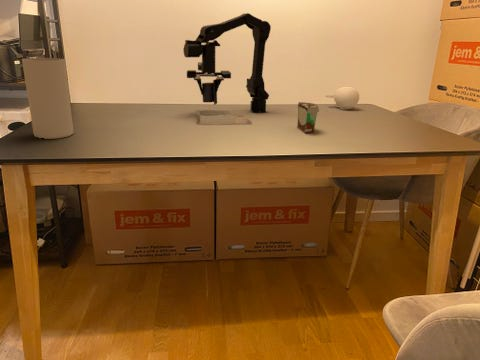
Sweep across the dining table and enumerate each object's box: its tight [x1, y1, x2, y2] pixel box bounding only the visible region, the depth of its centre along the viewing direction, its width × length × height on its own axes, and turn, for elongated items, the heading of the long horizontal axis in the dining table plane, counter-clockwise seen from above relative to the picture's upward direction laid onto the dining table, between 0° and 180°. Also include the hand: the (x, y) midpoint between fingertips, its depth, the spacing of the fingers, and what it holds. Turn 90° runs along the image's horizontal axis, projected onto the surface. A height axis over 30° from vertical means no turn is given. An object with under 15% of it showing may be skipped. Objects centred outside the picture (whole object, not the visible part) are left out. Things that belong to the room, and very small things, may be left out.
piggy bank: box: [325, 86, 360, 111], centre depth 200 cm, size 12×12×15 cm
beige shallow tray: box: [195, 109, 253, 126], centre depth 165 cm, size 22×13×4 cm, turn 99°
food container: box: [296, 101, 320, 134], centre depth 152 cm, size 12×6×10 cm, turn 9°
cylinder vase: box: [21, 57, 74, 140], centre depth 132 cm, size 12×12×25 cm
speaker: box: [201, 78, 218, 106], centre depth 174 cm, size 8×6×10 cm
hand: (208, 94), depth 174 cm, fingers closed on speaker, 5 cm apart
